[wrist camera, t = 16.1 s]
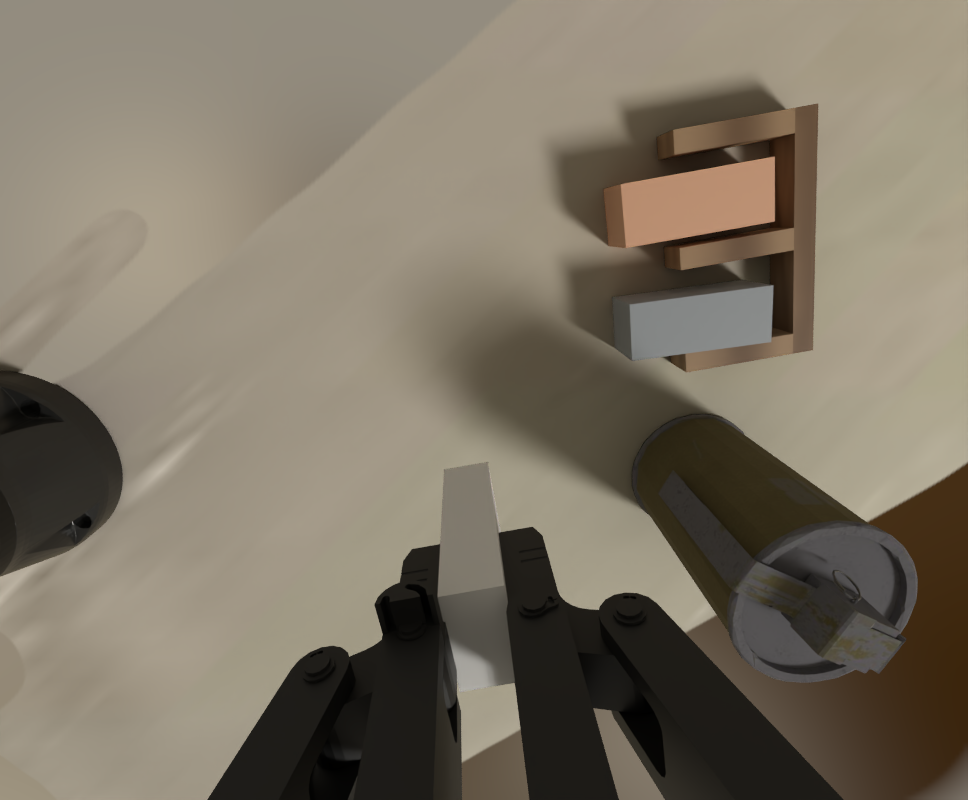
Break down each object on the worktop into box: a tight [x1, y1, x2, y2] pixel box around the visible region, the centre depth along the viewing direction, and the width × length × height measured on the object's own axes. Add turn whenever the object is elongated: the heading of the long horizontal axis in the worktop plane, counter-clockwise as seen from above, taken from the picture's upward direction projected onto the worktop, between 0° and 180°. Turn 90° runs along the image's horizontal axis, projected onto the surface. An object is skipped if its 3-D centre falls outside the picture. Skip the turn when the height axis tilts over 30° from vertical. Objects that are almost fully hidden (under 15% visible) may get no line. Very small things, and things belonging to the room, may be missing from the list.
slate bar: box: [612, 280, 773, 361], centre depth 40 cm, size 10×4×4 cm, turn 97°
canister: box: [632, 414, 917, 682], centre depth 36 cm, size 11×10×20 cm
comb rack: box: [657, 104, 818, 372], centre depth 39 cm, size 10×16×3 cm, turn 10°
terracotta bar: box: [603, 157, 775, 248], centre depth 37 cm, size 10×4×4 cm, turn 100°
